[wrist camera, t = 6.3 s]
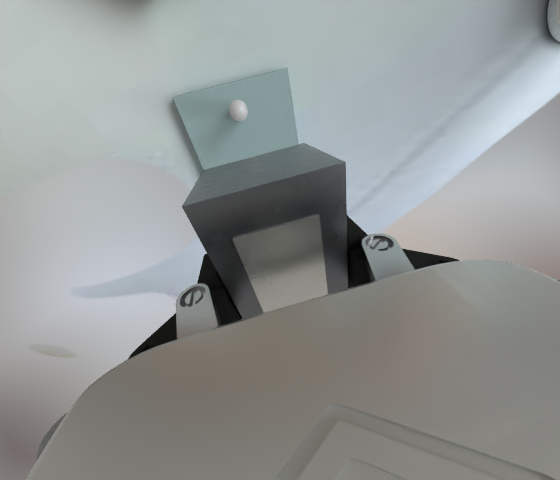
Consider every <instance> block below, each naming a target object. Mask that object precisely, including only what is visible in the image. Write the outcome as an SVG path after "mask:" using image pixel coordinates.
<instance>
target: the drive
mask: <svg viewBox="0 0 560 480" xmlns="http://www.w3.org/2000/svg"><path fill="white" fill-rule="evenodd" d="M182 207H183V209H184V211H185V213H186V215H187V217H188V218H189V220H190V222H191V224H192V226H193V228H194V230H195V231H196V233H197V235H198V237H199V239H200V241H201V242H202V244H203V246H204V248H205V250H206V252H207V254H208V255H209V257H210V259H211V261H212V263H213V265H214V266H215V268H216V270H217V272H218V274H219V276H220V278H221V279H222V281H223V283H224V285H225V287H226V289H227V290H228V292H229V294H230V296H231V298H232V300H233V301H234V303H235V305H236V307H237V309H238V311H239V313H240V314H241V316H242V318H243V319H245V318H249V317H252V316H255V315H259V314H262V313H265V312H269V311H272V310H276V309H279V308H283V307H286V306H289V305H293V304H296V303H300V302H303V301H307V300H310V299H313V298H317V297H320V296H324V295H327V294H331V293H334V292H338V291H341V290H345V289H348V258H347V212H346V166H345V162H344V161H342V160H340V159H337V158H335V157H333V156H331V155H329V154H327V153H324V152H322V151H320V150H318V149H316V148H314V147H311V146H309V145H307V144H305V143H302V144H299V145H295V146H291V147H287V148H284V149H280V150H276V151H272V152H269V153H265V154H261V155H257V156H254V157H250V158H246V159H242V160H239V161H235V162H231V163H227V164H224V165H220V166H216V167H212V168H209V169H205V170H204V171H203V172H202V174H201V176H200V177H199V179H198V181H197V182H196V184H195V186H194V187H193V189H192V191H191V192H190V194H189V196H188V197H187V199H186V201H185V203H184V204H183V206H182Z"/></svg>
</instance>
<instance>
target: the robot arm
mask: <svg viewBox="0 0 560 480" xmlns="http://www.w3.org/2000/svg"><path fill="white" fill-rule="evenodd" d="M547 22H548V26H549V31H550V33H551V35H552V36H553V38H554V39H556V40H557V41H558V42H560V0H549V4H548V15H547ZM347 258H348V289H345V290H341V291H338V292H334V293H331V294H327V295H324V296H320V297H317V298H313V299H310V300H307V301H303V302H300V303H296V304H293V305H289V306H286V307H283V308H279V309H276V310H272V311H269V312H265V313H262V314H259V315H255V316H252V317H249V318H245V319H242V316H241V314H240V313H239V311H238V309H237V307H236V305H235V303H234V301H233V300H232V298H231V296H230V294H229V292H228V290H227V289H226V287H225V285H224V283H223V281H222V279H221V278H220V276H219V274H218V272H217V270H216V268H215V266H214V265H213V263H212V261H211V259H210V257H209V255H208V254H205V255H204V258H203V262H202V266H201V270H200V275H199V279H198V283H197V284H195V285H192V286H190V287H188V288H187V289H185V290H184V291H183V292H182V293H181V294H180V295H179V297H178V299H177V300H176V313H175V314H174V316H172V317H171V318H170V319H169V320H168V321H167V322H166V323H164V324H163V325H162V326H161V327H160V328H159V329H158V330H157V331H156V332H154V333H153V334H152V335H151V336H150V337H149V338H148V339H147V340H146V341H145V342H143V343H142V344H141V345H140V346H139V347H138V348H137V349H136V350H135V351H134V352H133V353H132V354H131V355H130V357H129V358H128V360H126V361H124V362H123V363H121V364H119V365H118V366H116V367H115V368H113V369H111V370H110V371H108V372H107V373H106V374H104V375H103V376H102V377H100V378H99V379H98V380H96V381H95V382H94V383H93V384H91V385H90V386H89V387H88V388H87V389H86V390H85V391H84V392H83V393H82V395H81V396H80V397H79V398H78V399H77V401H76V402H75V403H74V405H73V406H72V407H71V409H70V410H69V412H67V413H66V414H65V415H64V416H63V417H61V418H60V419H59V420H58V421H57V422H56V423H55V424H54V425H53V426H52V427H51V429H50V430H49V431H48V432H47V434H46V435H45V436H44V438H43V440H42V442H41V444H40V446H39V448H38V452H37V462H36V463H35V465H34V467H33V468H32V470H31V472H30V473H29V475H28V477H27V479H26V480H560V280H557V279H555V278H552V277H549V276H546V275H544V274H541V273H539V272H537V271H535V270H532V269H530V268H527V267H524V266H521V265H518V264H514V263H510V262H504V261H494V260H465V261H459V260H457V259H454V258H450V257H444V256H439V255H434V254H428V253H422V252H417V251H412V250H406V249H402V248H401V247H400V245H399V244H398V242H397V241H396V240H395V239H394V238H393V237H391V236H389V235H385V234H371V235H367V234H366V233H365V232H364V231H363V230H362V229H361V228H360V227H359V226H358V225H357V224H355V223H354V222H353V221H352V220H351V219H350V218H349V217H348V216H347Z"/></svg>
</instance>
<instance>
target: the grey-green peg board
mask: <svg viewBox="0 0 560 480" xmlns="http://www.w3.org/2000/svg"><path fill="white" fill-rule="evenodd" d="M173 100H174V102H175V105H176V107H177V109H178V112H179V114H180V116H181V119H182V121H183V123H184V126H185V128H186V130H187V133H188V135H189V137H190V140H191V142H192V144H193V147H194V149H195V151H196V154H197V156H198V159H199V161H200V163H201V166H202V168H203V170H205V169H209V168H212V167H216V166H220V165H224V164H227V163H231V162H235V161H239V160H242V159H246V158H250V157H254V156H257V155H261V154H265V153H269V152H272V151H276V150H280V149H284V148H287V147H291V146H295V145H298V138H297V131H296V125H295V118H294V111H293V104H292V97H291V90H290V83H289V77H288V70H287V68H285V69H281V70H277V71H273V72H269V73H265V74H261V75H257V76H254V77H250V78H246V79H242V80H238V81H234V82H230V83H226V84H222V85H218V86H214V87H210V88H206V89H203V90H199V91H195V92H191V93H187V94H183V95H179V96H175V97H173Z"/></svg>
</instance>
